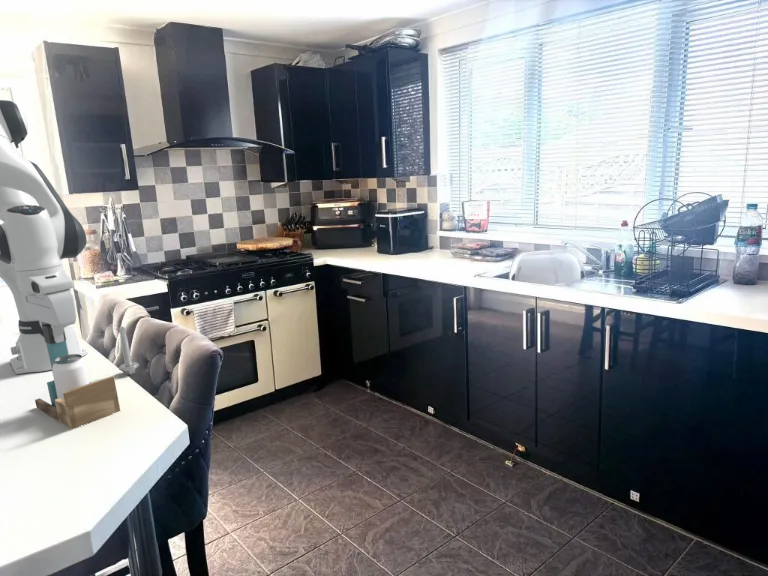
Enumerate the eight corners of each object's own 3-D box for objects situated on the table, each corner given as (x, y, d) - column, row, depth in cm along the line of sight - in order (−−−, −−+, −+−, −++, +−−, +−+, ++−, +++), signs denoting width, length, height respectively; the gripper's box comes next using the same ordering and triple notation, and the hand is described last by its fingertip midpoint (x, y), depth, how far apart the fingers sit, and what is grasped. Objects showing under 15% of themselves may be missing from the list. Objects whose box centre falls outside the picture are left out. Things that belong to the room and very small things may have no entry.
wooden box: (36, 407, 124) (29, 375, 122) (82, 392, 132) (75, 361, 130) (72, 429, 112) (64, 393, 110) (120, 410, 119) (113, 376, 117)
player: (51, 406, 123) (33, 327, 119) (80, 396, 128) (64, 319, 124) (56, 409, 121) (39, 328, 117) (86, 399, 126) (70, 321, 122)
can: (85, 399, 126) (76, 351, 123) (97, 406, 122) (89, 357, 119) (55, 409, 121) (45, 360, 118) (67, 417, 117) (57, 366, 114)
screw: (119, 378, 140) (120, 372, 144) (139, 374, 141) (140, 368, 146) (110, 330, 137) (112, 325, 141) (131, 326, 138) (132, 322, 143)
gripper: (9, 279, 122) (22, 337, 125) (43, 287, 109) (57, 351, 112) (40, 274, 127) (52, 330, 130) (76, 280, 114) (88, 342, 117)
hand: (55, 340), depth 121 cm, fingers open, 3 cm apart
